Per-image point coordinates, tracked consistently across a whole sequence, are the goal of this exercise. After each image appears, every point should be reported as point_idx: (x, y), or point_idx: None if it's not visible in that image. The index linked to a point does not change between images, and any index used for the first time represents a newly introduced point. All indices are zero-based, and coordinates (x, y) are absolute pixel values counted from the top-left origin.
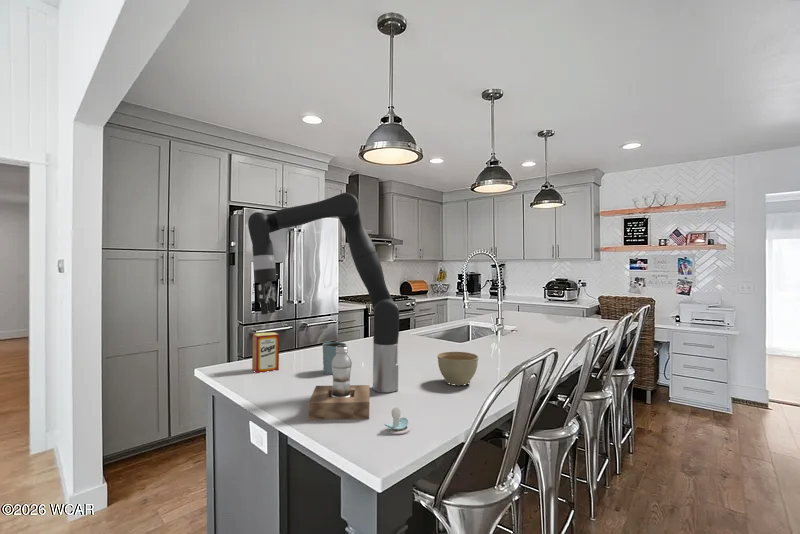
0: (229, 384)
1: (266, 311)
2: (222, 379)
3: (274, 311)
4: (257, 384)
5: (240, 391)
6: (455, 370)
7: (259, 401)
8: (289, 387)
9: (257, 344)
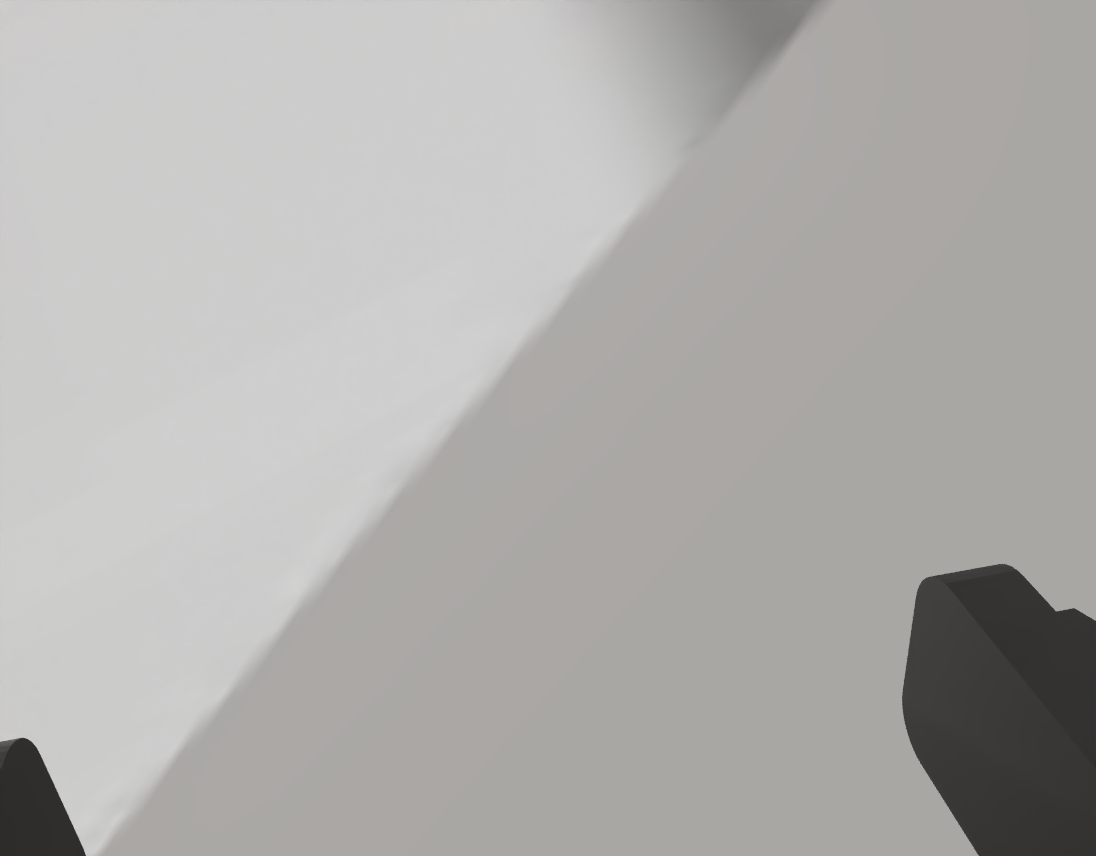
0: (189, 663)
1: (1049, 637)
2: None
3: (22, 756)
4: (112, 418)
5: (371, 458)
6: None
7: (622, 142)
8: (118, 4)
9: None
